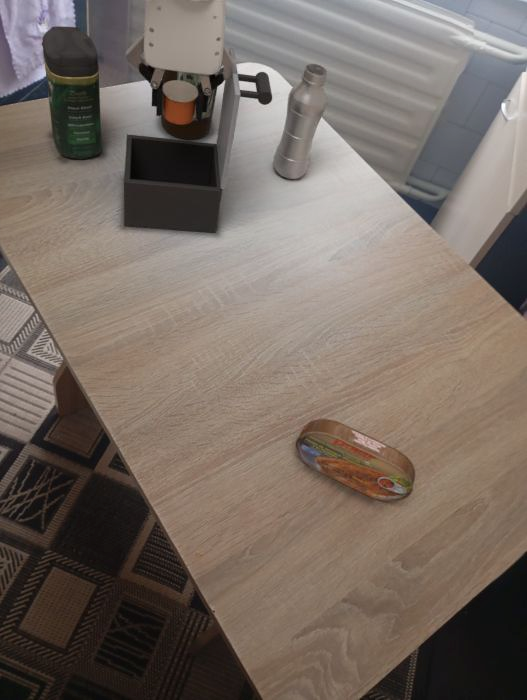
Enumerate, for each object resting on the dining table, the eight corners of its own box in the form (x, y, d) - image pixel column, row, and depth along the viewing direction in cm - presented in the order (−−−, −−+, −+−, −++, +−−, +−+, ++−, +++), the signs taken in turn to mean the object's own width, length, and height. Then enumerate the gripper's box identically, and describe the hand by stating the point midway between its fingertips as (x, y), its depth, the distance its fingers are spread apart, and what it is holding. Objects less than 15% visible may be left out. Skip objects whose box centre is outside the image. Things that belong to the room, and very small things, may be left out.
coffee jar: (106, 159, 98) (102, 54, 84) (59, 163, 96) (46, 55, 81) (95, 126, 103) (89, 20, 88) (49, 128, 100) (36, 19, 85)
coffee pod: (160, 123, 79) (162, 98, 76) (161, 103, 82) (162, 78, 79) (196, 127, 80) (199, 103, 77) (195, 107, 83) (198, 82, 80)
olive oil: (152, 109, 109) (157, -35, 89) (204, 108, 113) (221, -30, 93) (165, 143, 104) (174, -1, 84) (219, 141, 108) (241, 2, 88)
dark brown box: (124, 226, 90) (124, 182, 83) (127, 178, 97) (127, 134, 90) (215, 233, 93) (222, 191, 86) (211, 186, 100) (218, 143, 93)
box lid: (235, 94, 73) (277, 99, 75) (229, 47, 80) (268, 53, 81) (220, 188, 86) (257, 191, 87) (216, 141, 92) (250, 145, 94)
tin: (287, 456, 73) (304, 426, 66) (296, 437, 74) (313, 405, 68) (395, 510, 71) (423, 485, 64) (401, 489, 73) (429, 462, 66)
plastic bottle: (299, 188, 104) (330, 86, 88) (265, 174, 105) (290, 70, 89) (309, 169, 108) (341, 68, 92) (277, 156, 108) (303, 53, 92)
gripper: (257, -30, 70) (235, 104, 85) (115, -54, 67) (118, 90, 81) (263, -1, 66) (239, 135, 81) (112, -25, 62) (116, 121, 77)
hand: (178, 111), depth 81 cm, fingers closed on coffee pod, 5 cm apart
